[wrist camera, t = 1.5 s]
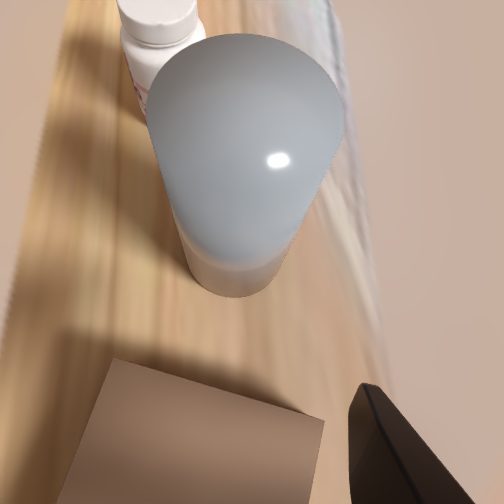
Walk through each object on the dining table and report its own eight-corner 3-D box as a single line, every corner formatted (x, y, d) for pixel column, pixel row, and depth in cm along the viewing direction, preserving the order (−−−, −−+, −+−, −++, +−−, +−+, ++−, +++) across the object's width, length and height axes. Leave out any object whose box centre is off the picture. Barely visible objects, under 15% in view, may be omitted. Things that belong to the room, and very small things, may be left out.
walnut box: (258, 641, 18) (268, 711, 14) (52, 576, 18) (6, 628, 14) (306, 414, 21) (324, 420, 17) (132, 362, 21) (113, 357, 17)
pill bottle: (129, 99, 27) (89, -20, 19) (187, 72, 28) (172, -51, 20) (163, 148, 26) (137, 43, 18) (222, 118, 27) (222, 6, 19)
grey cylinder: (268, 309, 23) (321, 223, 10) (172, 281, 23) (113, 164, 11) (291, 221, 25) (360, 62, 12) (203, 196, 25) (184, 13, 13)
